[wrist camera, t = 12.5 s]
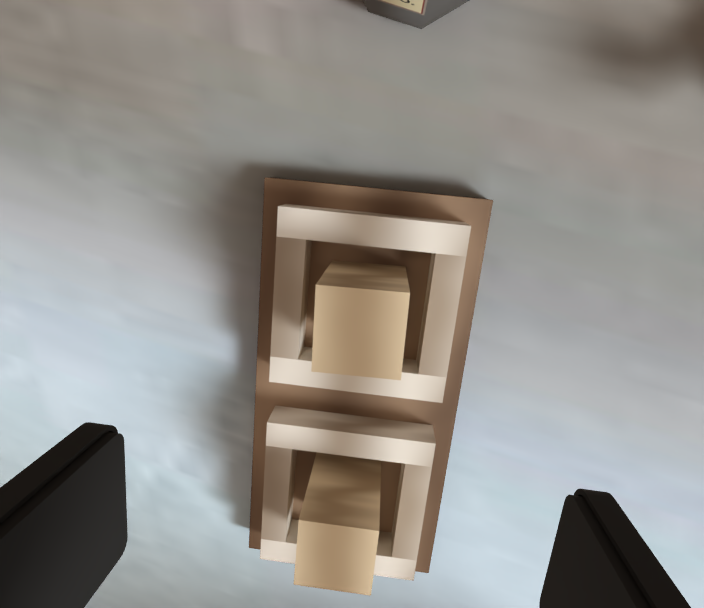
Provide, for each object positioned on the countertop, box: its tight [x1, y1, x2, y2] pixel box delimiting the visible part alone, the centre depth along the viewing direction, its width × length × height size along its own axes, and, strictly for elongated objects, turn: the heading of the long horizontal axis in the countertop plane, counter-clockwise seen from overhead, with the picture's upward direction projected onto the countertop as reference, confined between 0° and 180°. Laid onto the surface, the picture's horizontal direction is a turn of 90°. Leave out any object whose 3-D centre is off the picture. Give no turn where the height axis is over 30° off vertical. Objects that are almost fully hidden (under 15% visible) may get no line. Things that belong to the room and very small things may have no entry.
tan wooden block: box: [311, 260, 410, 380], centre depth 23 cm, size 4×4×6 cm
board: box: [249, 178, 493, 595], centre depth 25 cm, size 12×24×8 cm, turn 175°
